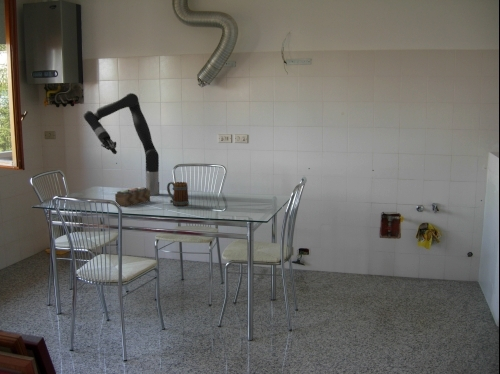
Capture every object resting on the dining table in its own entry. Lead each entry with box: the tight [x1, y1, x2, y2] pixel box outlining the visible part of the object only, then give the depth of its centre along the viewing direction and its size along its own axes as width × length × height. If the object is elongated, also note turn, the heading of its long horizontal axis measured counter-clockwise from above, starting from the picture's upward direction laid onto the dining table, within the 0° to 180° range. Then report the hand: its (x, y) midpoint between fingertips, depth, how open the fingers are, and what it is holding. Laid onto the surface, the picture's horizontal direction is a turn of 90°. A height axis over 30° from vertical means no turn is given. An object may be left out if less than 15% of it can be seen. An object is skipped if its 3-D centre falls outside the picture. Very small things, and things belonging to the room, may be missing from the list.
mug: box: [166, 181, 190, 208], centre depth 330 cm, size 16×11×15 cm
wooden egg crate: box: [114, 187, 151, 208], centre depth 333 cm, size 24×8×9 cm, turn 150°
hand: (115, 153), depth 342 cm, fingers closed
